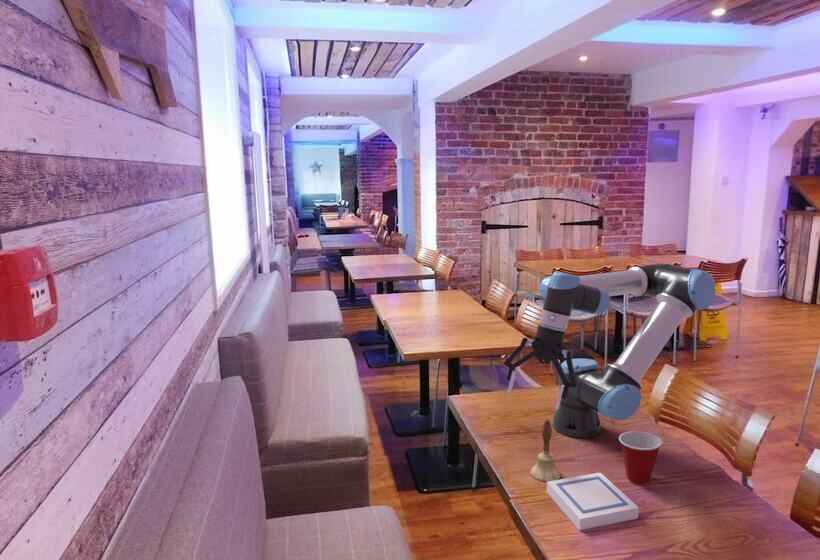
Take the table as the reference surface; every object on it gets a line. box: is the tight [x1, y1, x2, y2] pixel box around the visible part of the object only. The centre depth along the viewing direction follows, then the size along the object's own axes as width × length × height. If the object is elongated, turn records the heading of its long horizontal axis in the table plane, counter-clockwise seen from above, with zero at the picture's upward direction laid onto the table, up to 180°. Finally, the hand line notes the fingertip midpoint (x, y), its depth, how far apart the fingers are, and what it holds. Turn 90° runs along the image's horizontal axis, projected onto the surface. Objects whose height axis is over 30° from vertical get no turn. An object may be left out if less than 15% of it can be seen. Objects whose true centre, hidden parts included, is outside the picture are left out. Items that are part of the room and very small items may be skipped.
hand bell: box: [529, 419, 562, 483], centre depth 149 cm, size 8×8×16 cm
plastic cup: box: [618, 430, 663, 485], centre depth 146 cm, size 11×11×12 cm
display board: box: [546, 472, 640, 531], centre depth 136 cm, size 16×16×3 cm
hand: (532, 400), depth 150 cm, fingers open, 13 cm apart
